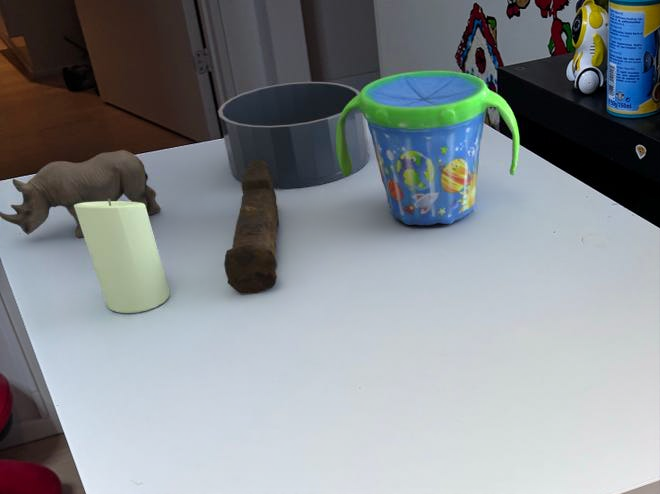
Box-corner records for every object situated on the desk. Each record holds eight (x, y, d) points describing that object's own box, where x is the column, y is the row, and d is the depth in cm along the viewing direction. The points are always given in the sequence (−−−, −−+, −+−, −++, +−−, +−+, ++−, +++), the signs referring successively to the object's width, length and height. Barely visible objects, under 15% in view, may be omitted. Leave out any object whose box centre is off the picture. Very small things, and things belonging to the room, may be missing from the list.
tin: (219, 192, 97) (205, 131, 94) (244, 143, 107) (232, 86, 104) (362, 184, 97) (354, 122, 93) (374, 135, 107) (367, 78, 103)
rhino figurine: (7, 238, 92) (-19, 168, 88) (158, 206, 96) (140, 138, 92) (12, 254, 89) (-15, 183, 85) (167, 220, 93) (148, 151, 89)
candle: (125, 284, 83) (93, 181, 78) (180, 287, 82) (152, 182, 77) (94, 312, 80) (59, 206, 74) (152, 315, 79) (120, 208, 73)
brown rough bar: (281, 293, 80) (269, 235, 77) (230, 297, 80) (216, 238, 77) (298, 204, 94) (289, 151, 91) (255, 207, 94) (245, 154, 91)
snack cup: (531, 192, 93) (528, 68, 86) (507, 240, 85) (501, 109, 78) (368, 188, 96) (352, 68, 89) (331, 233, 88) (311, 107, 81)
